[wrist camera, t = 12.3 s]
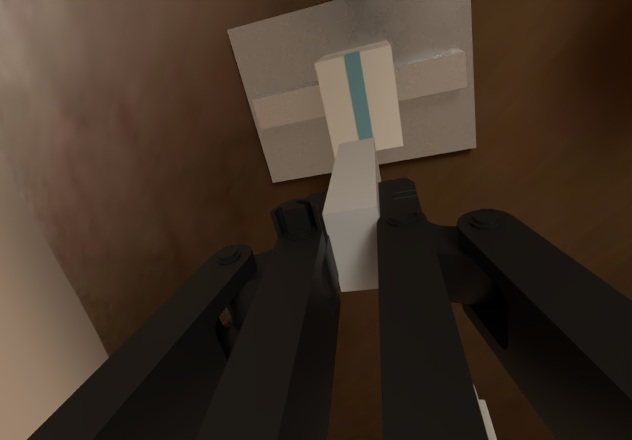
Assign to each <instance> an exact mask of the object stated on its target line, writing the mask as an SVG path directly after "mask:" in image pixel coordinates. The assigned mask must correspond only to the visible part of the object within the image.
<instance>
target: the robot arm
mask: <svg viewBox="0 0 632 440" xmlns="http://www.w3.org/2000/svg"><path fill="white" fill-rule="evenodd" d="M270 213H271V216H272V219H273V222H274V225H275V229H276V232H277V235H278V239H277V242H276V244H275V247H274V249H272V250H269V251H267V252H263V253H260V254H257V255H254V254H253V252H252V249H251V248H250V247H249V246H248V245H243V244H239V245H230V246H229V247H228V246H227V247H224V248H223V249H222V250H220V251H218V252H216V253H215V254H214V255H212V256H211V257H210V258H209V259H208V260H207V261H206V262H205V263H204V264H203V265H202V266H201V267H200V268H199V269H198V270H197V271H196V272H195V273H194V274H193V275H192V276H191V277H190V278H189V279H188V280H187V281H186V282H185V283H184V284H183V285H182V286H181V287H180V288H179V289H178V290H177V291H176V292H175V293H174V294H173V295H172V296H171V297H170V298H169V299H168V300H167V301H166V302H165V303H164V304H163V305H162V306H161V307H160V308H159V309H158V310H157V311H156V312H155V313H154V314H153V315H152V316H151V317H150V318H149V319H148V320H147V321H146V322H145V323H144V324H143V325H142V326H141V327H140V328H139V329H138V330H137V331H136V332H135V333H134V334H133V335H132V336H131V337H130V338H129V339H128V340H127V341H126V342H125V343H124V344H123V345H122V346H121V347H120V348H118V349H117V350H116V351H115V352H114V353H113V354H112V355H111V356H110V357H109V358H108V360H106V362H104V363H103V364H102V365H101V366H100V368H98V370H96V371H95V372H94V373H93V374H92V375H91V376H90V377H89V378H88V379H87V380H86V381H85V382H84V383H83V384H82V385H81V386H80V388H78V389H77V390H76V391H75V392H74V393H73V394H72V395H71V396H70V397H69V398H68V399H67V400H66V401H65V402H64V403H63V404H62V405H61V406H60V407H59V408H58V409H57V410H56V411H55V412H54V413H53V414H52V415H51V416H50V417H49V418H48V419H47V420H46V421H45V422H44V423H43V424H42V425H41V426H40V427H39V428H38V429H37V430H36V431H35V432H34V433H33V434H32V435H31V436H30V437H29V438H28V439H27V440H327V438H328V427H329V417H330V407H331V396H332V386H333V376H334V365H335V355H336V345H337V334H338V324H339V313H340V298H339V294H338V290H337V287H338V280H339V284H340V288H341V292H347V291H357V290H367V289H377V288H378V289H379V323H380V356H381V389H382V423H383V440H489V439H488V435H487V432H486V428H485V425H484V421H483V417H482V414H481V410H480V407H479V403H478V400H477V396H476V393H475V389H474V385H473V382H472V378H471V375H470V371H469V368H468V364H467V361H466V357H465V353H464V350H463V346H462V343H461V339H460V336H459V332H458V328H457V325H456V321H455V318H454V314H453V311H452V307H451V304H450V302H455V303H462V307H463V309H464V312H465V313H466V315H467V316H468V317H469V319H470V320H471V322H472V323H473V324H474V326H475V327H476V329H477V330H478V331H479V333H480V334H481V336H482V337H483V338H484V340H485V341H486V343H487V344H488V345H489V347H490V348H491V349H492V351H493V352H494V354H495V355H496V356H497V358H498V359H499V361H500V362H501V363H502V365H503V366H504V368H505V369H506V370H507V372H508V373H509V375H510V376H511V377H512V379H513V380H514V382H515V383H516V384H517V386H518V387H519V389H520V390H521V391H522V393H523V394H524V396H525V397H526V398H527V400H528V401H529V403H530V404H531V405H532V407H533V408H534V410H535V411H536V412H537V414H538V415H539V417H540V418H541V419H542V421H543V422H544V424H545V425H546V426H547V428H548V429H549V431H550V432H551V433H552V435H553V436H554V437H555V439H556V440H632V301H631V300H630V299H628V298H627V297H625V296H624V295H623V294H621V293H620V292H618V291H617V290H616V289H614V288H613V287H611V286H610V285H609V284H607V283H606V282H604V281H603V280H602V279H600V278H599V277H597V276H596V275H595V274H593V273H592V272H590V271H589V270H588V269H586V268H585V267H584V266H582V265H581V264H579V263H578V262H577V261H575V260H574V259H572V258H571V257H570V256H568V255H567V254H565V253H564V252H563V251H561V250H560V249H558V248H557V247H556V246H554V245H553V244H551V243H550V242H549V241H547V240H546V239H544V238H543V237H542V236H540V235H539V234H537V233H536V232H535V231H533V230H532V229H531V228H529V227H528V226H526V225H525V224H524V223H522V222H521V221H519V220H518V219H517V218H515V217H514V216H512V215H510V214H508V213H506V212H504V211H499V210H494V209H480V210H476V211H471V212H469V213H466V214H464V215H462V216H461V217H460V218H459V219H458V221H457V227H454V226H440V225H436V224H433V223H431V222H428V221H427V218H426V216H425V215H424V213H423V212H422V210H421V207H420V203H419V199H418V196H417V192H416V188H415V185H414V182H412V181H411V180H409V179H408V178H401V179H395V180H389V181H383V182H381V177H380V171H379V165H378V159H377V153H376V146H375V140H374V137H373V138H367V139H362V140H357V141H352V142H346V143H341V144H339V146H338V151H337V155H336V159H335V163H334V167H333V172H332V176H331V180H330V184H329V188H328V192H322V193H315V194H310V195H309V196H308V197H307V198H306V199H305V198H303V199H295V200H291V201H287V202H285V203H282V204H280V205H278V206H277V207H275V208H274V209H273V210H272V211H271V212H270ZM224 309H225V310H226V312H227V314H228V317H229V319H230V320H229V321H228V322H227V324H225V325H224V326H223V325H222V323H221V321H220V319H219V316H220V314H221V313H222V312H223V310H224Z"/></svg>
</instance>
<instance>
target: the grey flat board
mask: <svg viewBox="0 0 632 440" xmlns="http://www.w3.org/2000/svg"><path fill="white" fill-rule="evenodd" d="M227 32H228V35H229V38H230V42H231V45H232V48H233V52H234V55H235V58H236V62H237V65H238V68H239V72H240V75H241V78H242V82H243V85H244V88H245V92H246V95H247V98H248V102H249V105H250V108H251V111H252V115H253V118H254V121H255V125H256V128H257V131H258V135H259V138H260V141H261V145H262V148H263V151H264V155H265V158H266V161H267V165H268V168H269V171H270V175H271V178H272V181H273V183H274V182H280V181H286V180H292V179H298V178H303V177H309V176H315V175H321V174H326V173H332V172H333V167H334V163H335V159H336V158H335V157H334V152H333V148H332V143H331V138H330V134H329V129H328V124H327V120H326V115H325V110H324V106H323V101H322V96H321V92H320V87H319V82H318V78H317V73H316V68H315V64H314V63H315V62H316V61H318V60H319V59H320V58H322V57H323V56H325V55H329V54H333V53H337V52H341V51H345V50H349V49H354V48H358V47H362V46H366V45H370V44H374V43H378V42H382V41H386V40H387V41H388V42H389V43H390V44H391V50H392V58H393V66H394V74H395V82H396V90H397V98H398V106H399V114H400V121H401V129H402V137H403V145H404V146H400V147H395V148H389V149H383V150H378V151H376V153H377V159H378V165H379V164H384V163H390V162H396V161H402V160H407V159H413V158H419V157H425V156H431V155H436V154H442V153H448V152H454V151H459V150H465V149H471V148H476V130H475V103H474V76H473V49H472V21H471V0H334V1H330V2H327V3H323V4H320V5H316V6H312V7H309V8H305V9H301V10H298V11H294V12H290V13H287V14H283V15H279V16H276V17H272V18H269V19H265V20H261V21H258V22H254V23H250V24H247V25H243V26H239V27H236V28H232V29H228V30H227Z"/></svg>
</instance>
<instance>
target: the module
mask: <svg viewBox="0 0 632 440" xmlns="http://www.w3.org/2000/svg"><path fill="white" fill-rule="evenodd" d="M314 64H315V68H316V73H317V78H318V82H319V87H320V92H321V96H322V101H323V106H324V110H325V115H326V120H327V124H328V129H329V134H330V138H331V143H332V148H333V152H334V157H335V158H336V155H337V151H338V146H339V144H341V143H346V142H352V141H357V140H362V139H367V138H373V137H374V140H375V146H376V151H378V150H383V149H389V148H395V147H400V146H404V145H403V137H402V129H401V121H400V114H399V106H398V98H397V90H396V82H395V74H394V66H393V58H392V50H391V44H390V43H389V42H388V41H387V40H386V41H382V42H378V43H374V44H370V45H366V46H362V47H358V48H354V49H349V50H345V51H341V52H337V53H333V54H329V55H325V56H323V57H322V58H320V59H319V60H318V61H316V62H315V63H314Z"/></svg>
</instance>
